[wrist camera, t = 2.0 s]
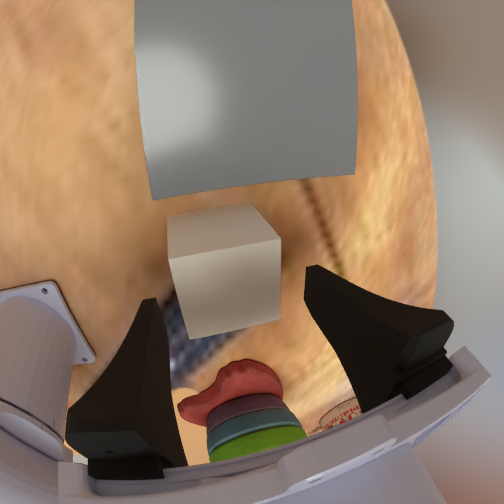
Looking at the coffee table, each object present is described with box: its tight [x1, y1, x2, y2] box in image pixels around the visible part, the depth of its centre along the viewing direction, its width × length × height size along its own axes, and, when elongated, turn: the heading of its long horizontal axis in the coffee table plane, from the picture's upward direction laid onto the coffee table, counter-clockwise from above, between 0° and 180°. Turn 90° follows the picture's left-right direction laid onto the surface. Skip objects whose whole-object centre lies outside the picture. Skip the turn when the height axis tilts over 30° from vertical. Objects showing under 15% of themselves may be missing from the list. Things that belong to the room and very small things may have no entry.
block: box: [167, 202, 281, 340], centre depth 15 cm, size 5×5×5 cm
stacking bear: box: [177, 360, 307, 463], centre depth 19 cm, size 11×10×18 cm
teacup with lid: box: [320, 398, 362, 431], centre depth 34 cm, size 12×9×12 cm
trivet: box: [135, 0, 358, 200], centre depth 12 cm, size 12×12×1 cm
